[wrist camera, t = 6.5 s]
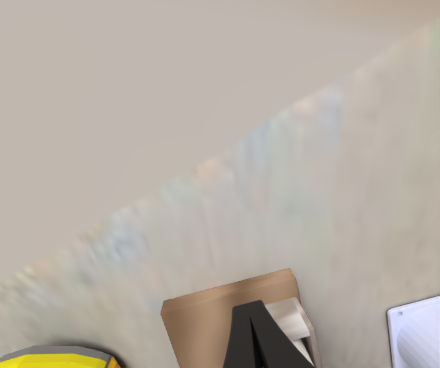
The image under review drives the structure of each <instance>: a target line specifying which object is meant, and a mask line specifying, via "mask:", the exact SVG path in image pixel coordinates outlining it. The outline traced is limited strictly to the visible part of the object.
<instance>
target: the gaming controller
mask: <svg viewBox="0 0 440 368" xmlns="http://www.w3.org/2000/svg"><path fill="white" fill-rule="evenodd" d="M0 368H121V367H120V366H119V365H118V363H117V361H116V360H115V358H114V357H113V356H112V355H109V354H106V353H103V352H101V351H99V350H95V349H89V348H85V347H81V346H32V347H29V348H26V349H23V350H19V351H16V352H13V353H10V354H7V355H4V356H3V357H1V358H0Z"/></svg>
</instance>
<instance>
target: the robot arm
mask: <svg viewBox="0 0 440 368" xmlns="http://www.w3.org/2000/svg"><path fill="white" fill-rule="evenodd" d="M387 317H388V326H389V335H390V344H391V354H392V363H393V368H440V296H437V297H433V298H430V299H426V300H422V301H418V302H414V303H411V304H407V305H403V306H399V307H395V308H392V309H389V310H388V312H387ZM223 368H315V367H314V366H313V365H312V364H311V363H310V362H309V361H308V360H307V359H306V357H305V356H304V355H303V354H302V353H301V352H300V351H299V350H298V349H297V348H296V347H295V345H294V344H293V343H292V342H291V341H290V340H289V338H288V337H287V336H286V335H285V333H284V332H283V331H282V330H281V328H280V327H279V326H278V325H277V323H276V322H275V320H274V319H273V318H272V316H271V315H270V313H269V312H268V310H267V308H266V307H265V305H264V303H263V301H261V300H257V301H253V302H249V303H245V304H242V305H238V306H234V307H233V309H232V321H231V329H230V336H229V341H228V346H227V352H226V356H225V360H224V364H223Z"/></svg>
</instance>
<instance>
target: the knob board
mask: <svg viewBox="0 0 440 368" xmlns="http://www.w3.org/2000/svg"><path fill="white" fill-rule="evenodd" d="M257 300H261V301H263V303H264V305H265V307H266V308H267V310H268V312H269V313H270V315H271V316H272V318H273V319H274V320H275V322H276V323H277V325H278V326H279V327H280V328H281V330H282V331H283V332H284V333H285V335H286V336H287V337H288V338H289V340H290V341H292V340H296V339H300V338H301V340H302V342H303V344H304V346H305V348H306V350H307V353H308V355H309V357H310V359H311V361H312V363H313V365H314V367H315V368H322V366H321V361H320V355H319V350H318V345H317V340H316V335H315V330H314V328H313V326H312V324H311V323H310V321H309V319H308V317H307V316H306V314H305V312H304V310H303V308H302V307H301V302H300V297H299V292H298V287H297V282H296V278H295V276H294V275H293V273H292V272H291V270H290V268H289V269H285V270H281V271H277V272H273V273H269V274H266V275H262V276H258V277H254V278H250V279H246V280H243V281H239V282H235V283H231V284H227V285H223V286H220V287H216V288H212V289H208V290H204V291H201V292H197V293H193V294H189V295H185V296H181V297H178V298H174V299H170V300H166V301H164V302H163V306H162V310H161V313H160V314H161V316H162V319H163V322H164V325H165V327H166V330H167V333H168V336H169V339H170V341H171V344H172V347H173V350H174V352H175V355H176V358H177V361H178V364H179V366H180V368H223V364H224V360H225V356H226V352H227V346H228V341H229V336H230V329H231V321H232V309H233V307H234V306H238V305H242V304H245V303H249V302H253V301H257Z"/></svg>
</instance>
